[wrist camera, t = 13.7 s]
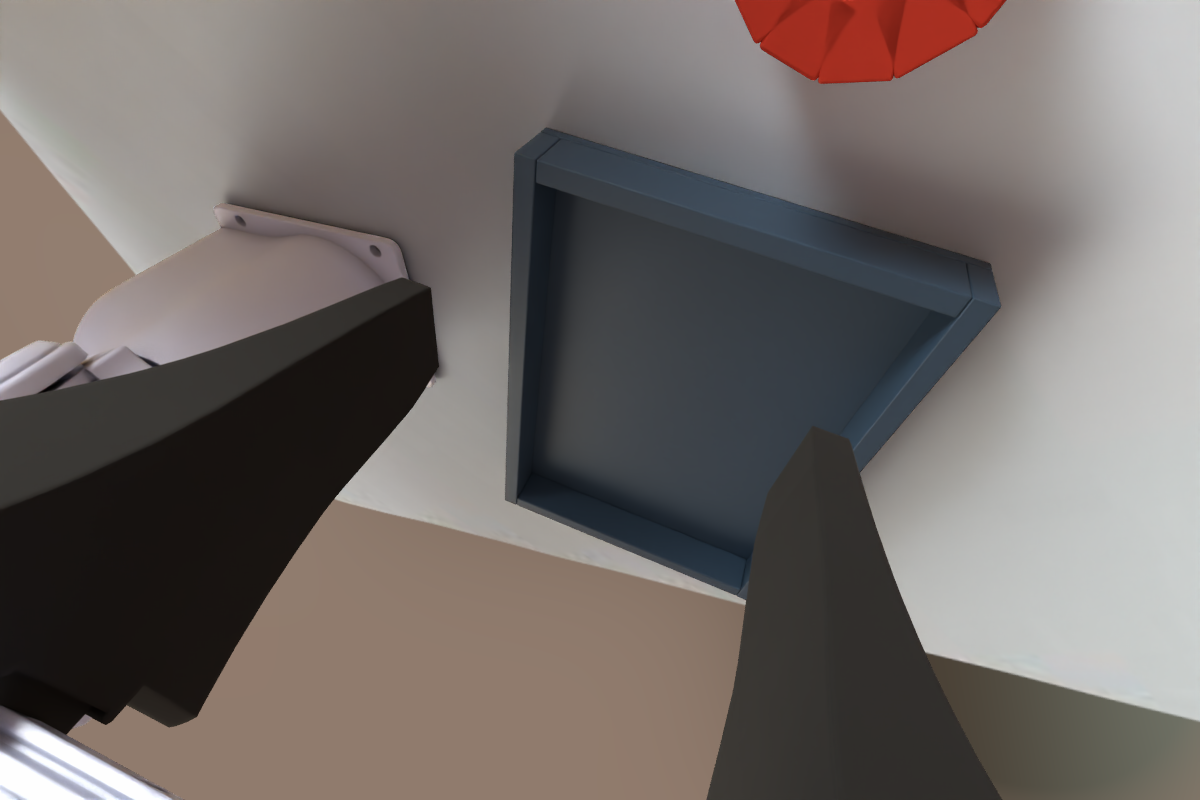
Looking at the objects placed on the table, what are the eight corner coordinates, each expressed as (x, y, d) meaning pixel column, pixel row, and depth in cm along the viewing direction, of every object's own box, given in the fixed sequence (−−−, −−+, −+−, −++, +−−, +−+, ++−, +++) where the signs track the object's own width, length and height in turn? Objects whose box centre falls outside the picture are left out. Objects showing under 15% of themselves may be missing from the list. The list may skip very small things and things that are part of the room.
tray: (523, 469, 30) (504, 500, 29) (545, 126, 17) (513, 152, 16) (757, 563, 29) (750, 601, 27) (991, 263, 15) (1002, 306, 14)
